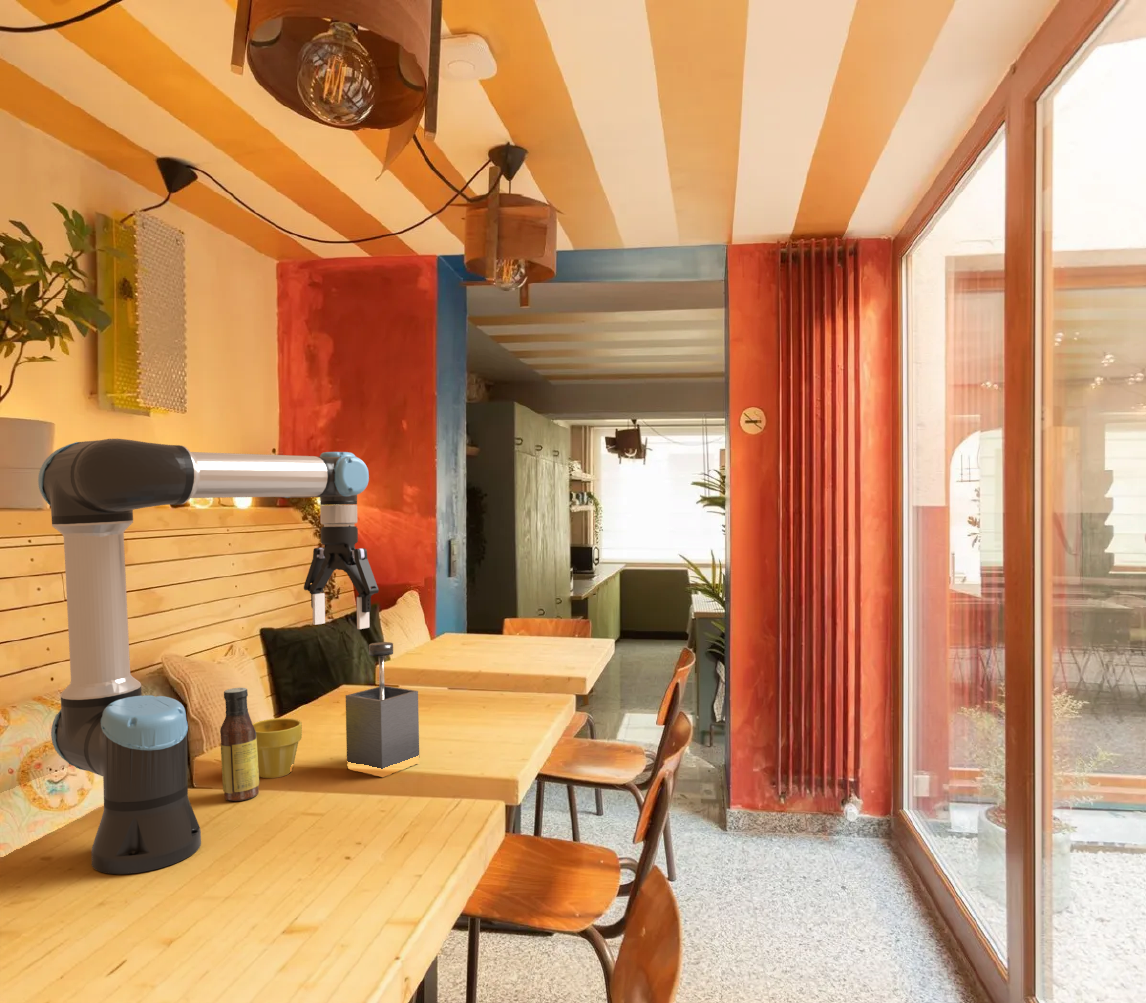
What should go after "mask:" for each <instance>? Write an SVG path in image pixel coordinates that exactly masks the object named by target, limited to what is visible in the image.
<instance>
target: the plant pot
mask: <svg viewBox="0 0 1146 1003" xmlns="http://www.w3.org/2000/svg"><path fill="white" fill-rule="evenodd" d="M302 723H303V722H302V721H301V720H299V719H296V718H289V717H280V718H279V717H277V718H276V717H275V718H269V719H264V720H259V721H256V722H252V724H253V726H254V729H255V731H256V738H257V754H258V770H259V778H262V779H263V778H264V779H275V778H276V779H277V778H282V777H285V776H287V775H289V773H290V767H291V765H292V764H294V765H295V762H296V761H295V760H296V756H297V751H298V746H299V742H300V741H301V740H302V738H303V737H302V736H303V724H302ZM290 774H291V773H290Z"/></svg>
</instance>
